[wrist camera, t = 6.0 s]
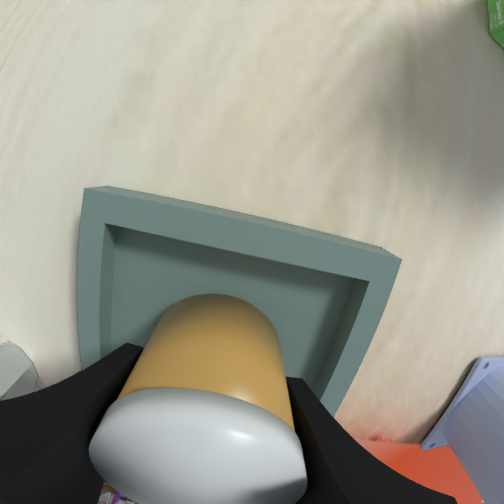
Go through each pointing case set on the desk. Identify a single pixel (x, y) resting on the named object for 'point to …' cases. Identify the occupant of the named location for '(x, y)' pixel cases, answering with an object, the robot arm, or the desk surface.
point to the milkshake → (15, 372)
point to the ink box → (496, 20)
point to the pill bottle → (204, 413)
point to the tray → (228, 280)
